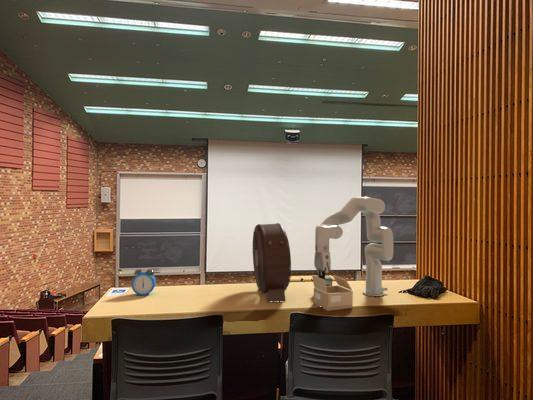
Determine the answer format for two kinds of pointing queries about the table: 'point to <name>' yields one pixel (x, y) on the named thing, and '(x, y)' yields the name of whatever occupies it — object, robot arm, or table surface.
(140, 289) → the alarm clock
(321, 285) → the flap
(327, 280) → the chalk box
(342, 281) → the flap
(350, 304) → the carton
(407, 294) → the table surface
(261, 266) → the fan
